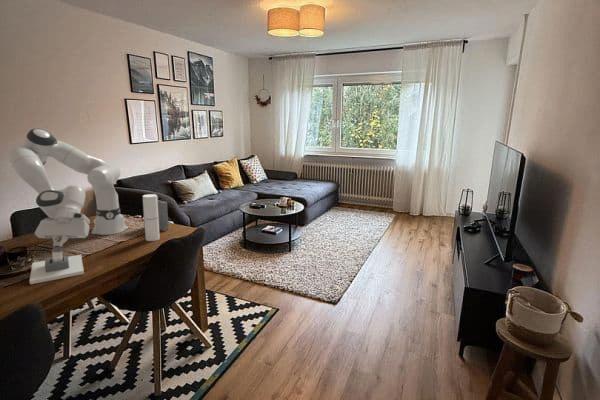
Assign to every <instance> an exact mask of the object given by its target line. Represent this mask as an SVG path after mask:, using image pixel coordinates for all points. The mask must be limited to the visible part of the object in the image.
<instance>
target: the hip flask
mask: <svg viewBox="0 0 600 400" xmlns="http://www.w3.org/2000/svg"><path fill="white" fill-rule="evenodd" d="M157 203H158V219H159V231H161V232H167V231H169V218H168V216H169V215H168V214H169V213H168V201H163V200H159V197H158V196H157ZM142 211H143V213H142V214H143V215H144V208H143V207H142ZM143 225H144V229H145V222H144V221H143Z"/></svg>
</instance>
